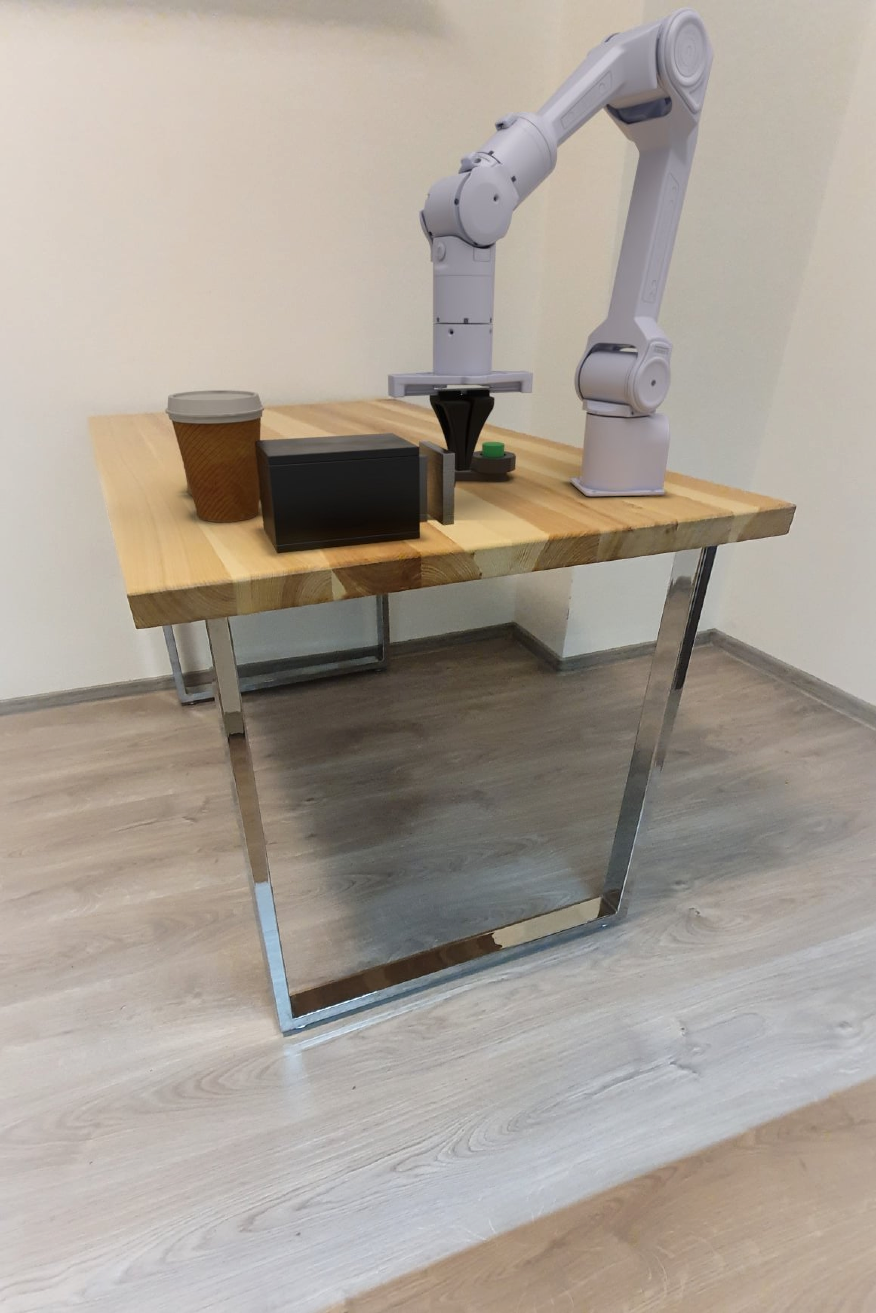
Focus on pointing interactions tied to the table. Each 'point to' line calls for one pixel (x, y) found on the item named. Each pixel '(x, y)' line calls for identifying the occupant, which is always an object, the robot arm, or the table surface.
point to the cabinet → (338, 491)
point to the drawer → (436, 483)
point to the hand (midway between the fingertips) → (460, 469)
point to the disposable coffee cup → (219, 450)
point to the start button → (493, 449)
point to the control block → (488, 468)
